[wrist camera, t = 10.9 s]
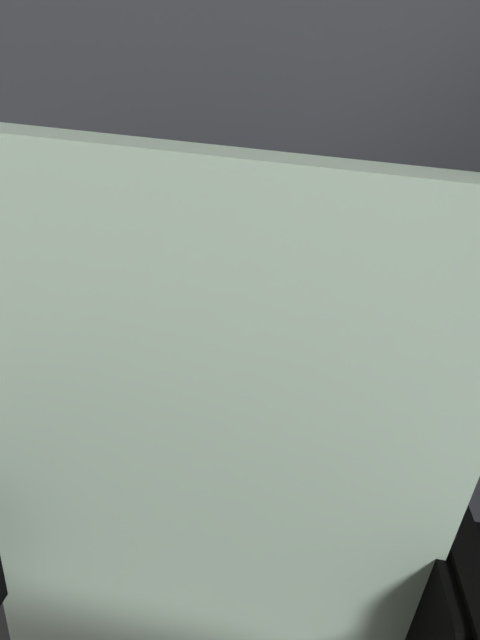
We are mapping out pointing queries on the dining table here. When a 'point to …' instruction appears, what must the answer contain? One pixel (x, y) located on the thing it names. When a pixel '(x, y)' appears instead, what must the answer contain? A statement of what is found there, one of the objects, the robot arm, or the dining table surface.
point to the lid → (230, 387)
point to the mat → (253, 78)
